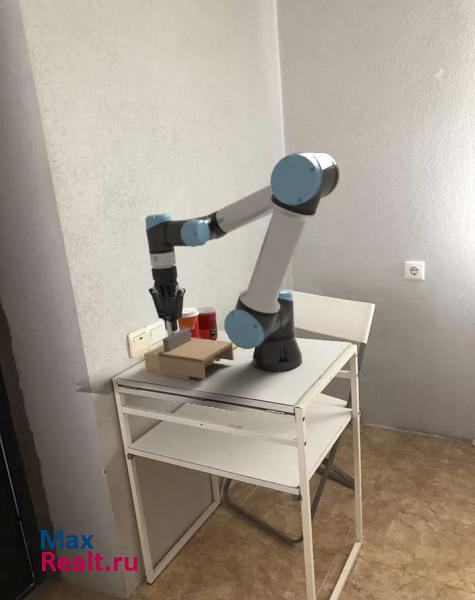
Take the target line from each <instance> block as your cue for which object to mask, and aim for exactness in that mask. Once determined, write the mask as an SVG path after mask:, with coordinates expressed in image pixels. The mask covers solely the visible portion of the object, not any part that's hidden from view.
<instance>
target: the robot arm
mask: <svg viewBox="0 0 475 600" xmlns="http://www.w3.org/2000/svg"><path fill="white" fill-rule="evenodd" d="M339 180H340V169H339V166H338V164H337V162H336V160H335V159H334V158H333V157H332V156H331V155H329V154H326V153H323V152H320V151H319V152H318V151H316V152H304V151H298V152H293V153H291V154H288V155H286V156H284V157H282V158H281V159H279V161H278V162H277V163H276V164H275V165H274V167H273V169H272V172H271V174H270V183H269V185H267V186H264V187H262V188H261V189H258V190H257V191H255V192H253V193H250V194H248V195H246V196H244V197H242V198H240V199H238V200H236V201H234V202H232V203H230V204H227V205H226V206H224V207H222V208H220V209H218V210H215V211H214V212H211V213H209V214H207V215H204V216H199V217H193V218H189V219H180V220H172V218H171V215H170V214H169V213H159V214H158V213H157V214H149V215H147V216H146V217H145V233H146V238H147V243H148V252H149V261H150V267H152V268H151V276H152V280H153V281H154V283H153V286H152V287H151V288H149V289H148V292H149V294H150V295H151V297H152V301H153V304H154V307H155V310H156V314H157V316H158V319H161V320H163V322H164V327H165V329H164V330H165V331H167V337H168V336H170V335H172V334H174V333H176V332H178V329H179V325H178V319H180V318H182V310H183V309H184V308H183V307H184V296H185V294H186V291H187V290H186V288H182V287H180V285H179V282H178V280H177V278H178V267H177V266H176V265H175V264H176V263H177V260H176V252H175V247H192V248H195V247H202V246H205V245H206V243H207V242H209V241H213V240H219V239H221V238H223V237H225V236H226V235H228V234H229V233H232V232H233V231H236V230H238V229H241V228H243V227H245V226H247V225H250V224H252V223H253V222H256V221H258V220H260V219H262V218H265V217H267V216H270V215H271V217H270V221H269V223H268V225H267V229H266V232H265V235H264V238H263V241H262V244H261V247H260V251H259V253H258V257H257V259H256V262H255V265H254V267H253V272H252V274H251V276H250V280H249V283H248V286H247V289H245V290H243V291H241V292H240V293H239V295H238V298H237V300H236V305H235V308H234V309H232V310H230V311H229V313H227V314H226V316H225V319H224V323H223V326H224V327H223V328H224V331H225V333H226V335H227V336H228V339H229V341H230V342H232V343H234V344H235V345H236V346H238V348H240V349H243V350H251V349H254V350H253V353H252V354H253V355H252V365H253V367H255V368H256V369H258V370H261V371H265V372H266V371H267V372H281V371H282V372H285V371H288V370H289V371H290V370H293V369H295V368H297V367H299V366H300V365H301V364H302V363H303V356H302V355H303V354H302V351H301V348H300V347H299V344H298V342H297V339H296V334H295V333H296V332H295V314H294V310H295V309H294V297H293V293H292V291H291V290H289V289H286V288H285V289H284V288H283V286H284V282H285V279H286V277H287V274H288V271H289V268H290V266H291V263H292V260H293V257H294V254H295V252H296V249H297V247H298V243H299V241H300V239H301V237H302V236H301V235H302V234H303V230H304V227H305V224H306V222H307V220H308V219H310V218H312V217H314V216H315V215H316V214H317V213H316V212H317V210H318V207H319V204H320V202H321V199H323V198H325V197H327V196H330V194H332V193H333V192H334V191H335V189H336V188H337V186H338V184H339Z"/></svg>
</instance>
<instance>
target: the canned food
mask: <svg viewBox="0 0 475 600" xmlns="http://www.w3.org/2000/svg"><path fill="white" fill-rule="evenodd" d="M196 309H197V311H198V312H199V314H198V327H199V338H200V339H208V340H216V341H217V339H219V338H218V337H219V333H218V324H217V323H218V322H217V313H216V308H215V307H212V306H211V307H209V306H205V307H199V308H196Z"/></svg>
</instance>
